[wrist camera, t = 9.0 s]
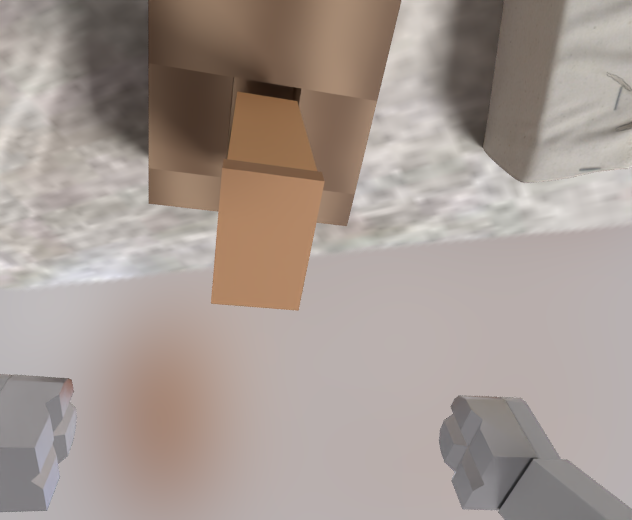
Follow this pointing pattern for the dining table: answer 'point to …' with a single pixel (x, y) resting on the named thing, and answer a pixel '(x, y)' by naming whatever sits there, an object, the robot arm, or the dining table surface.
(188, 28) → the block
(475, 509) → the robot arm
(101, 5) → the dining table surface
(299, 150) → the orange plug
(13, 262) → the dining table surface
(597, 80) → the pale hollow square block
